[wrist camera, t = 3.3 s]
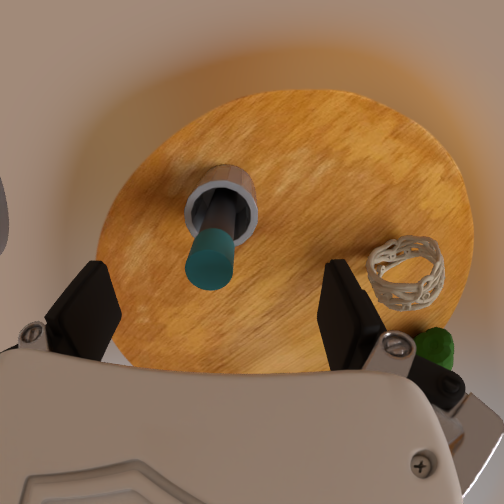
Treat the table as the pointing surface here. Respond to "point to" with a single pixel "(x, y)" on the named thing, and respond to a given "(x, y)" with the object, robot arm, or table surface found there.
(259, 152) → the table surface
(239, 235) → the pot
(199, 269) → the marker
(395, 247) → the bracelet
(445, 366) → the bell pepper
